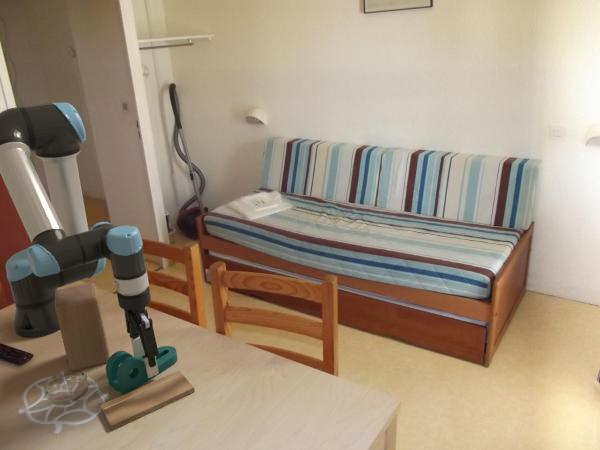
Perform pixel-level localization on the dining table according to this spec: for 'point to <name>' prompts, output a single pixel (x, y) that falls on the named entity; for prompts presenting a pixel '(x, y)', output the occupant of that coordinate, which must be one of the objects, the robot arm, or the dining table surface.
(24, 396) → the dining table surface
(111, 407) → the plank
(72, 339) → the block
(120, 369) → the bracket
